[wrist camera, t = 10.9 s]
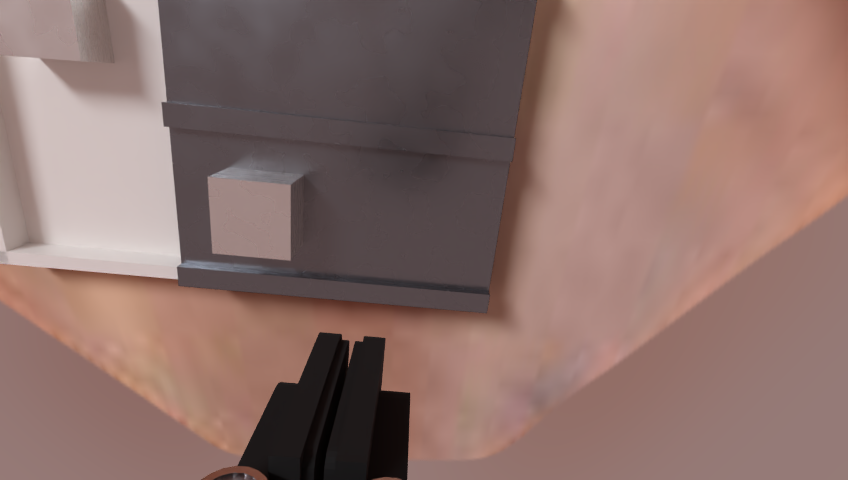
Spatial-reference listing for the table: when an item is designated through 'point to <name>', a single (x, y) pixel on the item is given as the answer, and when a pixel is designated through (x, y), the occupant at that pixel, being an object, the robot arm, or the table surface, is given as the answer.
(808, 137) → the table surface
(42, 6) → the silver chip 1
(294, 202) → the grey square block
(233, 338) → the table surface
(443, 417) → the table surface
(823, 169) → the table surface
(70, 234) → the tray
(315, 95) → the slot block
